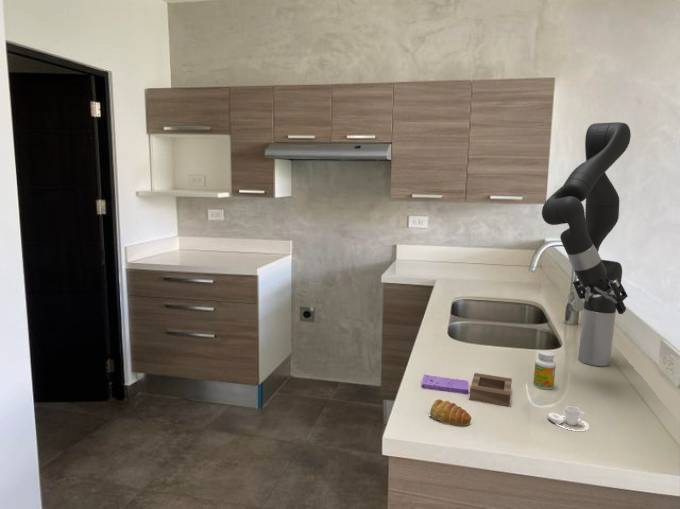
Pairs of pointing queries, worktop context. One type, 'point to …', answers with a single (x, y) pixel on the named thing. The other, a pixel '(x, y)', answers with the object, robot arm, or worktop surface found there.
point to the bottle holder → (491, 389)
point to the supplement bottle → (544, 370)
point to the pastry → (449, 413)
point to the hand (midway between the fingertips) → (609, 311)
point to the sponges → (445, 384)
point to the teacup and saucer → (568, 418)
